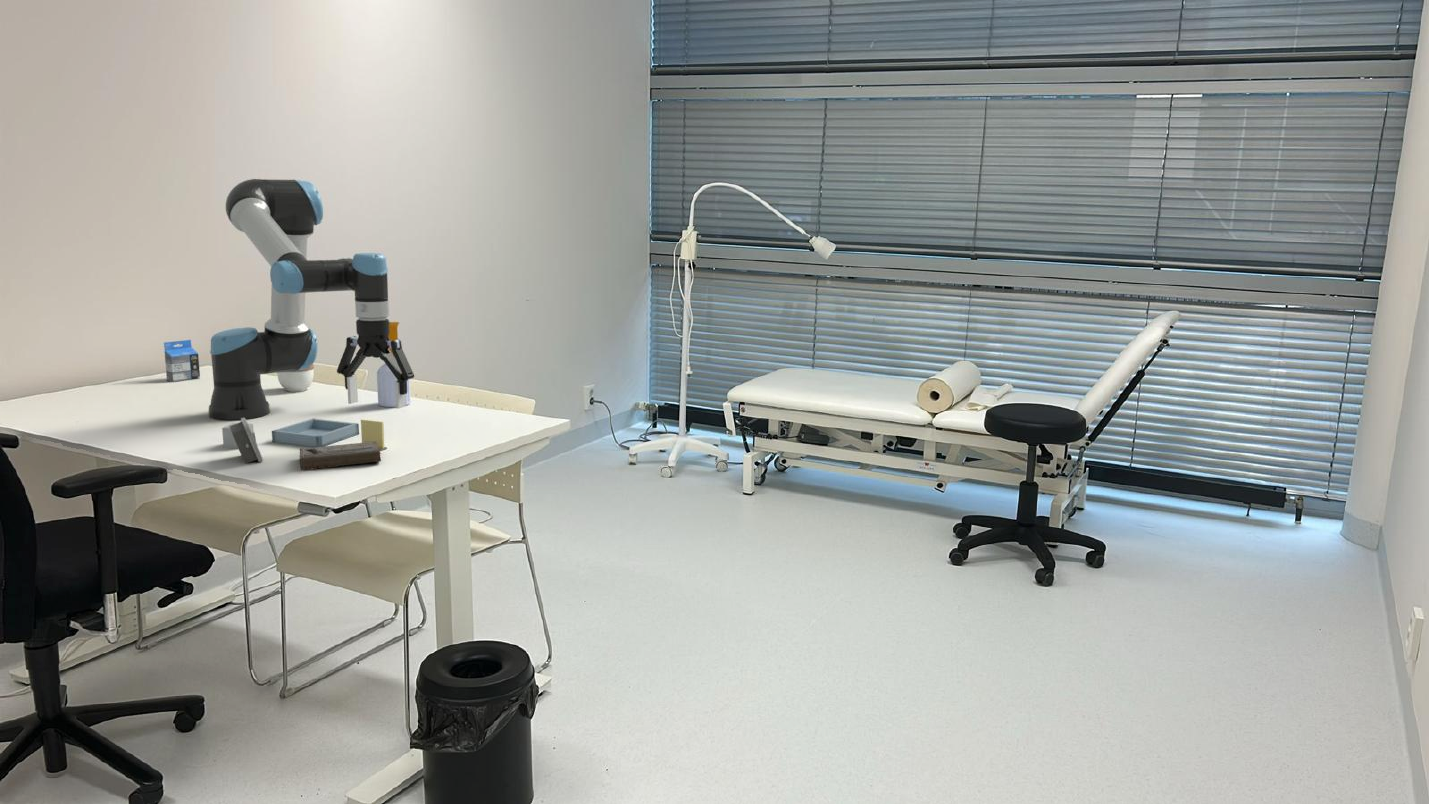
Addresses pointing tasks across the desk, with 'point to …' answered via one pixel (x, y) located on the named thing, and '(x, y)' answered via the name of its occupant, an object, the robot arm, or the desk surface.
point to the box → (339, 455)
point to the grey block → (231, 436)
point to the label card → (373, 432)
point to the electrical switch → (246, 441)
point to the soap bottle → (389, 378)
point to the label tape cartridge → (181, 361)
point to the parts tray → (315, 432)
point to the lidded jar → (296, 379)
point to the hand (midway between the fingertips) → (376, 405)
